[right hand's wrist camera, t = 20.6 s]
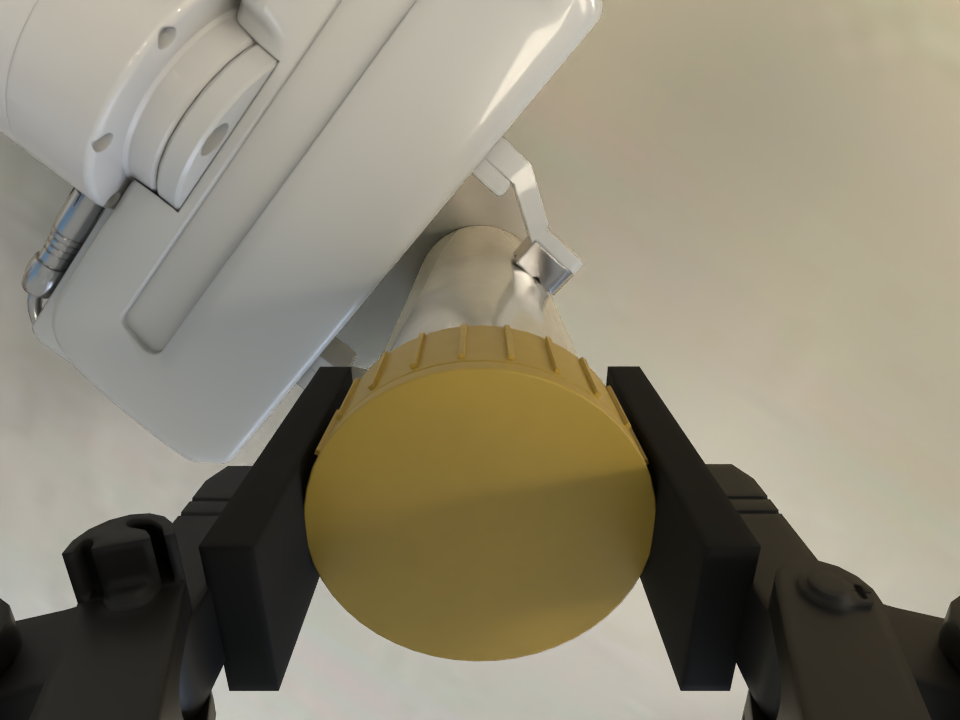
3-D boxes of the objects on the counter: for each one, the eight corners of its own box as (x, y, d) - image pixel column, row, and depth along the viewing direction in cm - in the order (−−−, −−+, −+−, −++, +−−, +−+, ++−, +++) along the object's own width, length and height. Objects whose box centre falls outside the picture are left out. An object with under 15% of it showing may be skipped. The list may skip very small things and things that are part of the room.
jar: (548, 336, 27) (636, 599, 12) (430, 354, 28) (369, 632, 12) (533, 215, 25) (616, 345, 10) (406, 236, 25) (297, 393, 10)
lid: (338, 578, 14) (312, 660, 11) (320, 316, 11) (284, 358, 9) (611, 585, 14) (635, 668, 12) (649, 326, 11) (688, 371, 9)
